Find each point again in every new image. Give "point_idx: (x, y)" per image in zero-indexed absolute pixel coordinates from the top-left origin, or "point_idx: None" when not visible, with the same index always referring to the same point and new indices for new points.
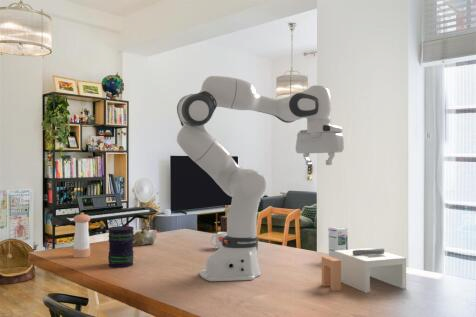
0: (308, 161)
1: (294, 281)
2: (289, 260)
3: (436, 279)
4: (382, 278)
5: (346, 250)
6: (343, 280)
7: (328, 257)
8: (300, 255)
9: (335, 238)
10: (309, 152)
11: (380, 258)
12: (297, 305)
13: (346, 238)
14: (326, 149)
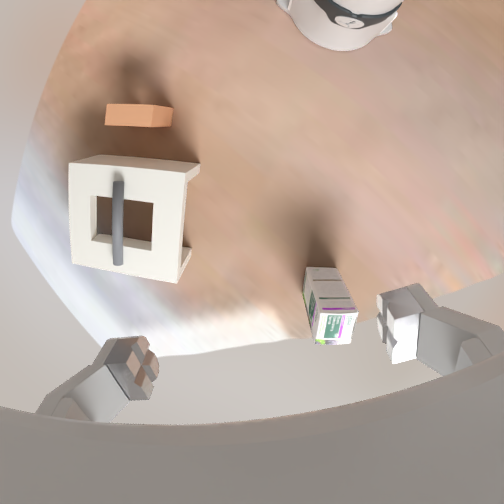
0: (391, 310)
1: (223, 71)
2: (394, 191)
3: (128, 326)
4: (145, 242)
5: (173, 205)
6: (164, 160)
7: (139, 115)
8: (415, 250)
9: (322, 296)
10: (399, 392)
11: (78, 211)
12: (104, 12)
13: (310, 323)
14: (30, 435)
